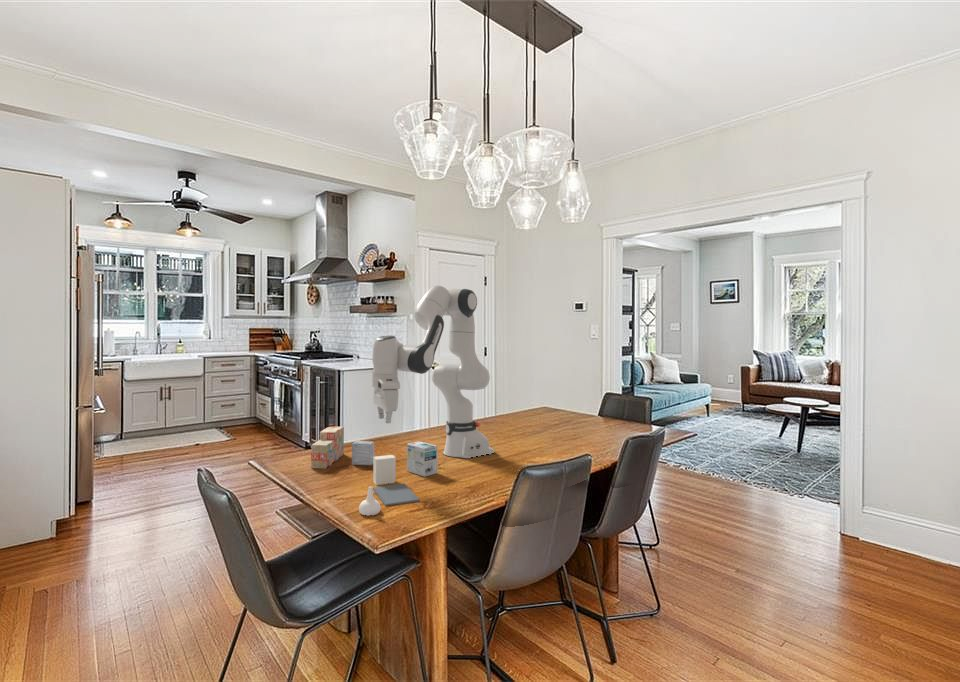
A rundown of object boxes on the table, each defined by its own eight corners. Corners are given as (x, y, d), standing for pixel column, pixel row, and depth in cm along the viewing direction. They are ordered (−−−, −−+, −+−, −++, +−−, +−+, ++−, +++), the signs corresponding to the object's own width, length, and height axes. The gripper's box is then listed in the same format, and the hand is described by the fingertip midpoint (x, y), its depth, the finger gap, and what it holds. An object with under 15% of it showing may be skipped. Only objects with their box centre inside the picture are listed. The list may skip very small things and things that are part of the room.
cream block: (392, 479, 178) (392, 454, 177) (395, 482, 174) (395, 457, 174) (373, 481, 175) (373, 456, 174) (375, 485, 171) (376, 459, 171)
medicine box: (374, 462, 199) (374, 441, 199) (370, 465, 194) (371, 444, 194) (355, 461, 200) (355, 440, 199) (351, 465, 195) (351, 443, 195)
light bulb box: (438, 473, 186) (438, 445, 185) (424, 477, 181) (424, 448, 180) (419, 467, 193) (419, 440, 192) (406, 471, 188) (406, 443, 188)
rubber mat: (404, 485, 171) (404, 483, 171) (419, 501, 156) (419, 499, 156) (372, 489, 167) (372, 487, 167) (385, 506, 151) (385, 504, 151)
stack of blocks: (326, 469, 190) (327, 437, 189) (310, 468, 190) (310, 437, 190) (343, 454, 211) (343, 426, 211) (329, 454, 211) (329, 425, 211)
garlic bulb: (355, 517, 144) (354, 491, 143) (364, 507, 150) (363, 482, 149) (376, 519, 143) (375, 492, 142) (383, 509, 149) (383, 483, 148)
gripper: (369, 379, 182) (368, 416, 182) (383, 384, 163) (382, 426, 163) (386, 378, 184) (385, 415, 185) (401, 384, 166) (401, 425, 166)
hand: (384, 420), depth 174 cm, fingers open, 8 cm apart
